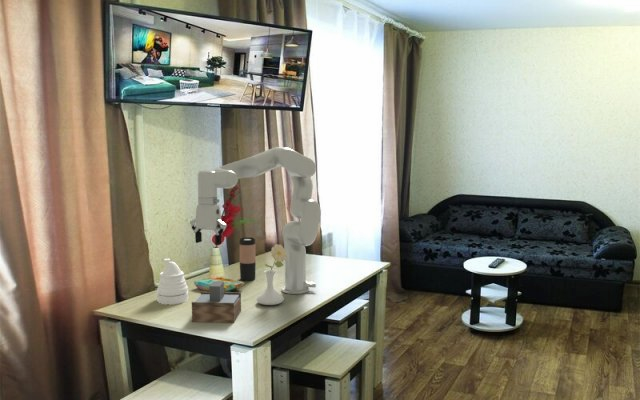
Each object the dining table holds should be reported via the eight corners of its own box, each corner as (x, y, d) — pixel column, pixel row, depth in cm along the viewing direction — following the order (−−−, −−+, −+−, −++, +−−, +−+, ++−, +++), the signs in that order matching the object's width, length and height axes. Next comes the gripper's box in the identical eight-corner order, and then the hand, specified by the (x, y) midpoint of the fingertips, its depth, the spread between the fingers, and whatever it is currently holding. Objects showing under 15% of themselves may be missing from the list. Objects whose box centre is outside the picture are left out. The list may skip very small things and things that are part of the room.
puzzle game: (212, 274, 268) (244, 280, 256) (212, 283, 268) (244, 290, 257) (194, 279, 258) (225, 286, 247) (194, 289, 259) (225, 296, 247)
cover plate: (239, 297, 225) (238, 279, 225) (232, 306, 214) (232, 288, 213) (202, 296, 226) (201, 279, 225) (193, 305, 214) (193, 287, 214)
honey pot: (162, 306, 233) (160, 263, 231) (153, 298, 244) (152, 257, 242) (192, 301, 240) (191, 259, 238) (182, 293, 251) (181, 254, 248)
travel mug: (237, 280, 273) (236, 239, 270) (244, 276, 280) (244, 236, 278) (251, 281, 270) (250, 240, 268) (258, 278, 277) (258, 237, 275)
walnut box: (241, 310, 227) (240, 292, 226) (234, 322, 213) (233, 303, 212) (201, 310, 228) (201, 291, 227) (192, 321, 214) (191, 302, 213)
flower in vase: (261, 308, 230) (260, 248, 227) (253, 301, 240) (252, 243, 237) (291, 305, 235) (291, 245, 232) (282, 297, 245) (281, 240, 242)
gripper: (231, 201, 226) (231, 243, 229) (196, 199, 234) (196, 239, 236) (220, 203, 220) (220, 247, 222) (184, 201, 227) (185, 243, 229)
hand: (208, 243), depth 229 cm, fingers open, 9 cm apart
